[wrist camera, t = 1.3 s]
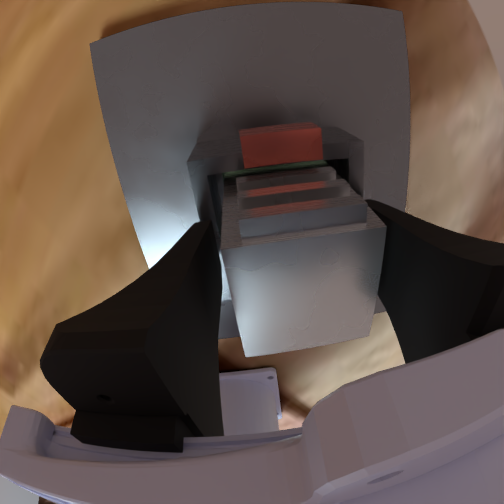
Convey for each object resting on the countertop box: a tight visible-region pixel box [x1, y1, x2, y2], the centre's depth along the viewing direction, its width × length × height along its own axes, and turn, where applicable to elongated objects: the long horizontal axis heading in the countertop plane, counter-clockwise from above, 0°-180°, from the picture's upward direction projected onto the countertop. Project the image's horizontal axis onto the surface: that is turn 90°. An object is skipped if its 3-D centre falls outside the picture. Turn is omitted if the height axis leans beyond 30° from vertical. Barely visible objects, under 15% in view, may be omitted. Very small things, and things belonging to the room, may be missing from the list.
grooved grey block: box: [221, 160, 387, 357], centre depth 11 cm, size 5×4×7 cm
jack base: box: [90, 2, 410, 339], centre depth 12 cm, size 18×14×5 cm
